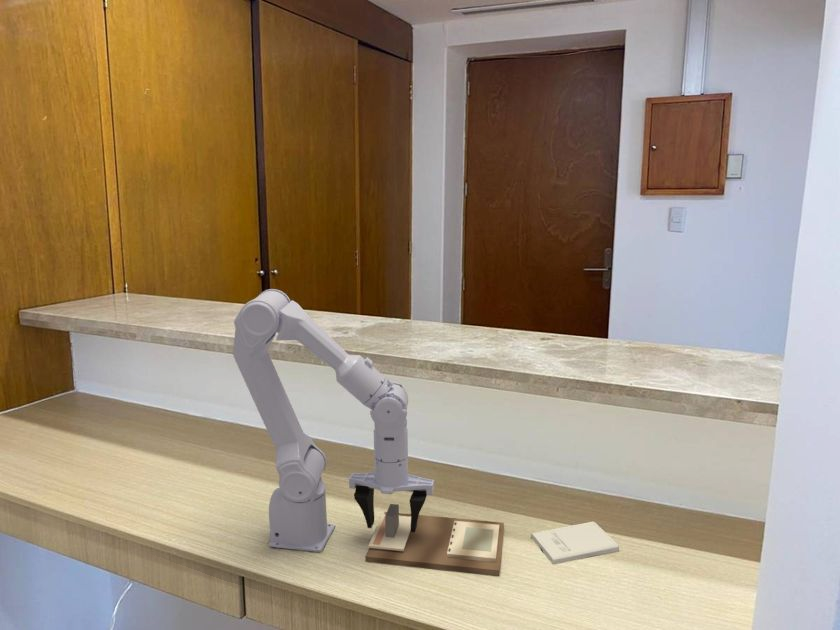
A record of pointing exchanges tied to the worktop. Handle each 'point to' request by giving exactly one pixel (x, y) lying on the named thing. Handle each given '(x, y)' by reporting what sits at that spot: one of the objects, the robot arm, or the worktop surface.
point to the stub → (391, 530)
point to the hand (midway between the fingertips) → (392, 527)
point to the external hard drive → (574, 542)
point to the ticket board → (448, 546)
